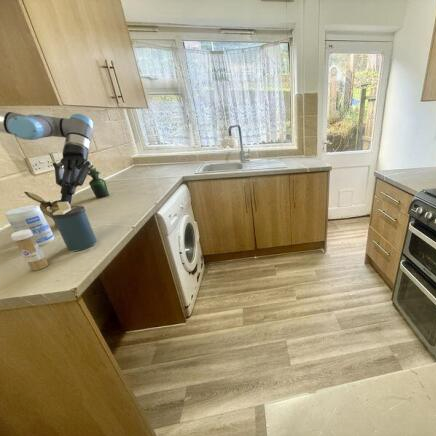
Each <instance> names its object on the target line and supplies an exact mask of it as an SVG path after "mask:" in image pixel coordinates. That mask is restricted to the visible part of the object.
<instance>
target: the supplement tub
mask: <svg viewBox="0 0 436 436" xmlns="http://www.w3.org/2000/svg"><path fill="white" fill-rule="evenodd" d="M4 215H5V218H6V219H7V221H8V223H9V225H10V227H11V228H12V230H13V233H15V232H18V231H21V230H31V231H32V233H33V236H34V238H35V240H36V242H37V243H38V245H39V247H41V246H45V245H47V244H50V243H51V242H53V241H54V239H55V235H54V233H53V231H52V228H50V225H49V222H48V221H47V219H46V217H45V214H44V213H43V212H42V211H41V209H40V205H26V206H21V207H15V208H12V209H10V210H8V211H7V210H6V212H5V213H4Z"/></svg>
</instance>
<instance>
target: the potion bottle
mask: <svg viewBox="0 0 436 436" xmlns="http://www.w3.org/2000/svg"><path fill="white" fill-rule="evenodd" d="M100 174H101V172H100V171H99V170H97V168H96V167H92V168H91V169H90V171H89V173H88V175H87V176H90V177H91V178H92V179H91V180H90V181H89V182H88V185H89V186H90V188H91V190H92V192H93V194H94V196H95V198H96V199H103V198H107V197H109V196H110V194H109V189H108V186H107V183H106V180H105V179H104V178H100V176H99V175H100Z"/></svg>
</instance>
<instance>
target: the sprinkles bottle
mask: <svg viewBox="0 0 436 436" xmlns="http://www.w3.org/2000/svg"><path fill="white" fill-rule="evenodd" d="M10 237H11V239H12V240H13V241H14V242H15V244H16V245H17V247H18V249H19V251H20V252H21V254H22V256H23V258H24V260H25V262H26V263H27V265H28V266H29V267H30V268H29V269H30V270H31V271H39V270H42V269H44V268H46V267H47V266H48V265H50V263H49V261H48V260H47V258H46V257H45V254H44V252H43V250H42V249H41V246H39V245H38V243H37V242H36V240H35V238H34V236H33V233H32V231H31V230H21V231H18V232H13V233H12V234H11V235H10Z"/></svg>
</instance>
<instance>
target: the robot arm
mask: <svg viewBox="0 0 436 436" xmlns="http://www.w3.org/2000/svg"><path fill="white" fill-rule="evenodd" d="M0 133H3V134H9V135H13V136H15V137H16V138H18V139H21V140H24V141H25V140H27V141H28V140H29V141H36V140H38V139H44V138H52V137H55V138H65V140H64V143H63V149H62V152H61V154H62V158H61V159H60V161H59V162H58V163H57V162H52V166H53V167H54V174H55V175H54V176H55V184H56V185H58V187H61V188H60V191H59V193H60V194H61V197H60V200H61V201H62V202H69V204H72V200H73V199H72V198H73V195H75V194H76V190H77V187H82V186H83V185H84V183H85V181H86V179H87V178H88V176H89V175H88V173H89V171H90V169H91V168H94V165H93V164H92V162H90V161H89V160H88V158H89V153H90V147H91V141H92V136H93V133H94V121H93V120H92V119H91V118H90V117H88V115H85V114H82V113H73V114H71V115H70V117H69V118H66V117H62V118H61V117H56V116H49V115H43V114H35V113H34V114H33V113H31V114H27V115H26V114H22V113H17V112H13V111H9V110H6V109H1V108H0Z"/></svg>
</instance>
